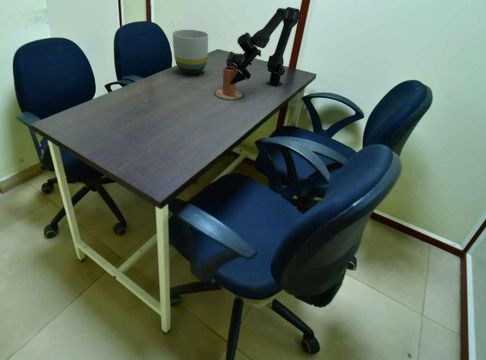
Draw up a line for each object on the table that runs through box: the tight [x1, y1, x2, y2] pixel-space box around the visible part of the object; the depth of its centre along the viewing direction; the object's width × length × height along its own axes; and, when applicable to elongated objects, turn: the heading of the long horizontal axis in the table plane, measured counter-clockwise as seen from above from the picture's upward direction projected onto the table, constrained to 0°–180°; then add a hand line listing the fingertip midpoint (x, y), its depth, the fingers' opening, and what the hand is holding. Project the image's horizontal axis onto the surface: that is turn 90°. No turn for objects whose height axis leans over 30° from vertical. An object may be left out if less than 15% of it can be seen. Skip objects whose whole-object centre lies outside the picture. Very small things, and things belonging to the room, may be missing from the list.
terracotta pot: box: [222, 65, 238, 96], centre depth 153 cm, size 7×7×13 cm
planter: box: [172, 29, 209, 75], centre depth 172 cm, size 20×20×21 cm
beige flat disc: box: [215, 88, 243, 101], centre depth 157 cm, size 14×14×1 cm
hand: (226, 80), depth 152 cm, fingers open, 9 cm apart
